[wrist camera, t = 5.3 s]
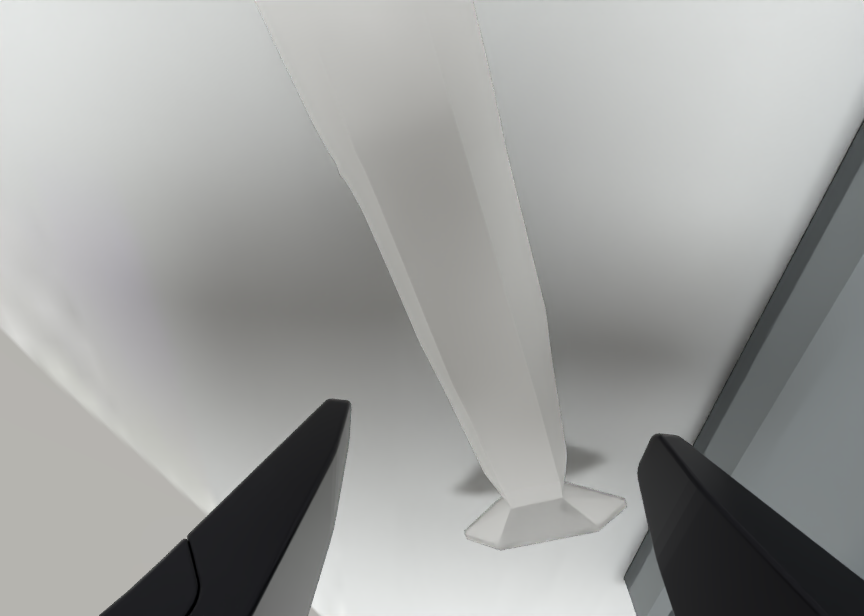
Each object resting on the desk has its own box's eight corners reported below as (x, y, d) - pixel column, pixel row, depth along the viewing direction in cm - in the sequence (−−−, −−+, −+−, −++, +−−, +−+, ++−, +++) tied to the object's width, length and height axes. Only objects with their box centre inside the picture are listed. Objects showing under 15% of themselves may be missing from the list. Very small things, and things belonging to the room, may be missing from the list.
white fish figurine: (475, -146, 10) (494, -239, 7) (610, 466, 18) (649, 568, 15) (235, -41, 11) (141, -73, 7) (466, 496, 19) (473, 599, 16)
